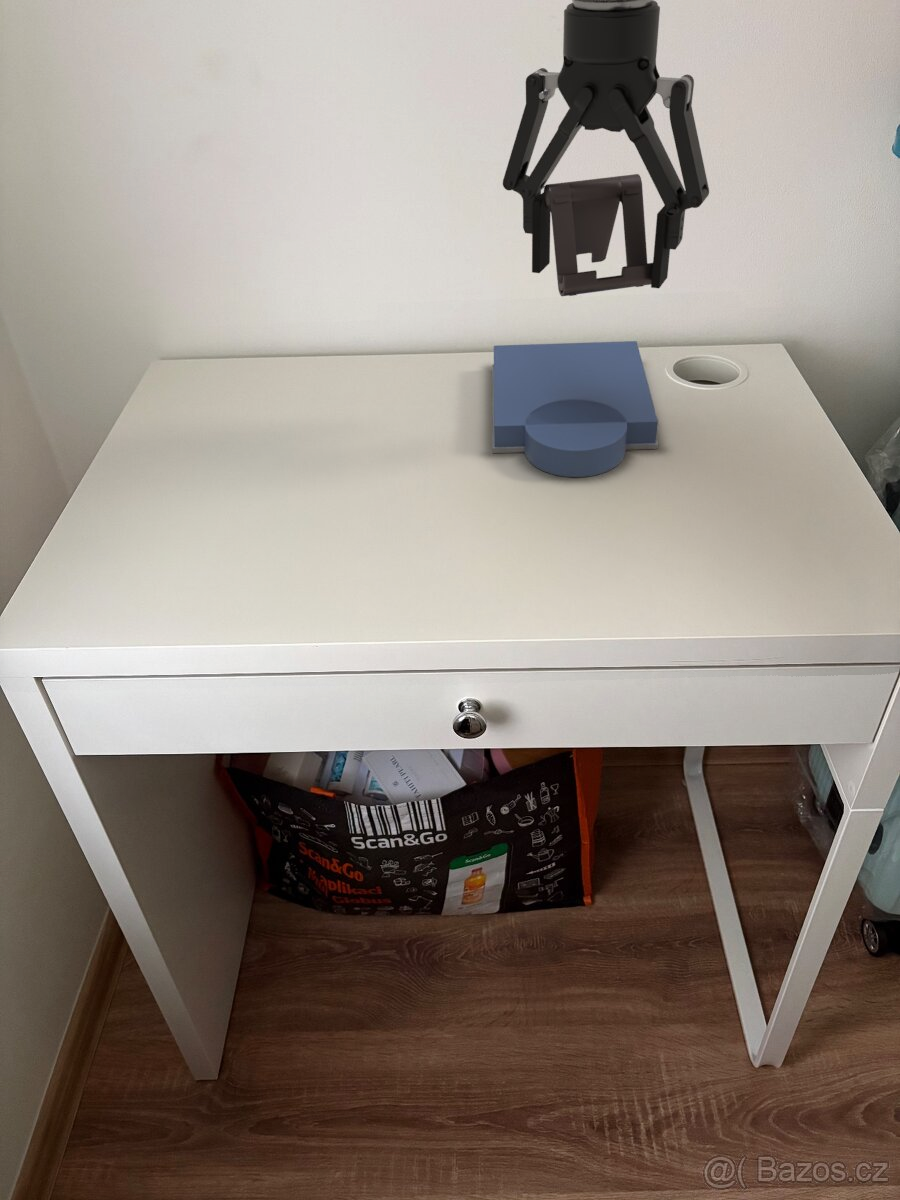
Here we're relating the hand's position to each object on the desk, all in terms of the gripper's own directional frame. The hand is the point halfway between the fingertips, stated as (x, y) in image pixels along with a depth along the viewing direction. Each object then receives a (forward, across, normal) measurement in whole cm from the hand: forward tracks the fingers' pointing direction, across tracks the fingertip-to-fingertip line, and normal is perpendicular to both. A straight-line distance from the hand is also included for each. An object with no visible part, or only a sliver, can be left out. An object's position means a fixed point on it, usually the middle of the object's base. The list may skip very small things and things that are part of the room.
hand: (598, 275), depth 90 cm
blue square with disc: (+16, -3, +1) cm, 16 cm away
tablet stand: (+1, 0, 0) cm, 1 cm away
